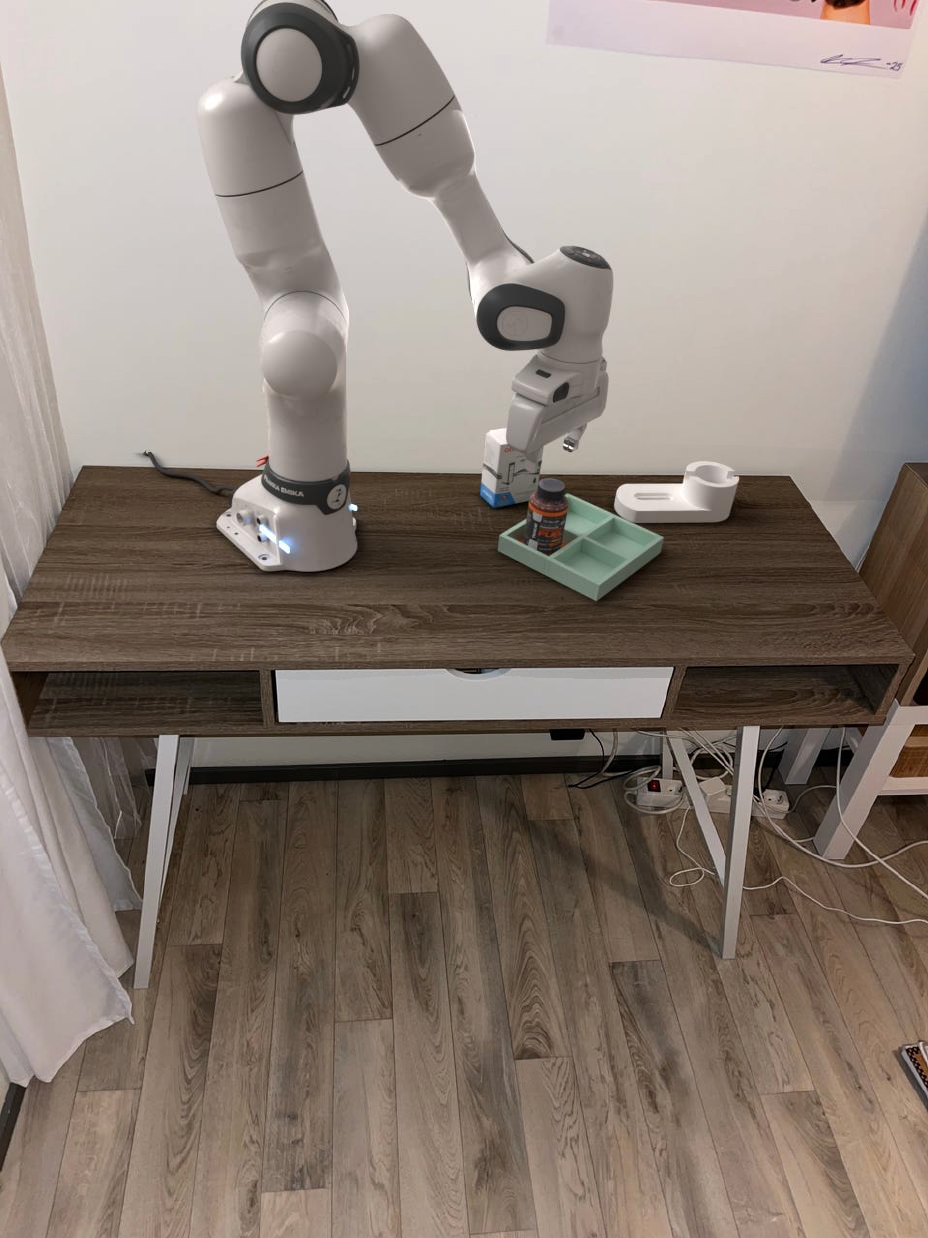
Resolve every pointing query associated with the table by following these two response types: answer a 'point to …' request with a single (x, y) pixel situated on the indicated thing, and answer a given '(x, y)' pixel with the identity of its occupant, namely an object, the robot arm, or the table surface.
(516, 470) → the ink box
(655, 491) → the bracket
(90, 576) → the table surface
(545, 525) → the supplement bottle
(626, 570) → the organiser
